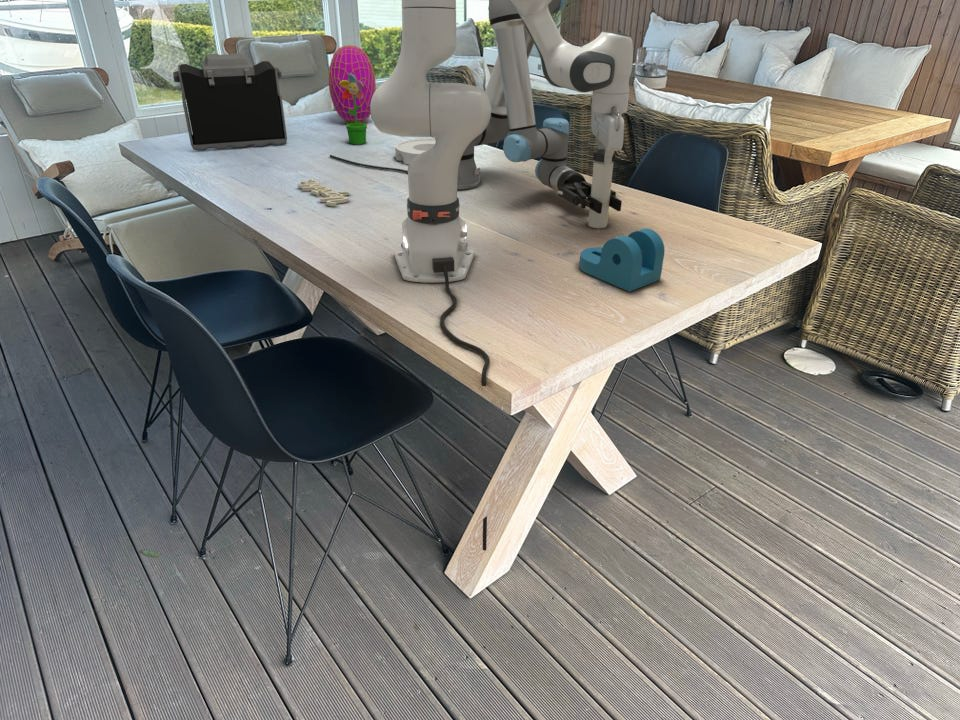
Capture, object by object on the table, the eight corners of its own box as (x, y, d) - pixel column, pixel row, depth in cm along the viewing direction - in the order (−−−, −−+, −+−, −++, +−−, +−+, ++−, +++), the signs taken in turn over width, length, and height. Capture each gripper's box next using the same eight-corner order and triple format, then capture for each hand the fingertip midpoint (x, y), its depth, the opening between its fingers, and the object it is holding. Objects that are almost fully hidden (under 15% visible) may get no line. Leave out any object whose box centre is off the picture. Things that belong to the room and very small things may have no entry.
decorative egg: (362, 116, 305) (357, 42, 290) (386, 123, 292) (382, 46, 277) (324, 121, 294) (316, 45, 279) (347, 129, 281) (340, 49, 266)
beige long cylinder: (607, 228, 182) (614, 157, 173) (588, 227, 183) (594, 156, 174) (606, 222, 187) (613, 152, 177) (588, 221, 187) (594, 152, 178)
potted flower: (342, 144, 260) (336, 73, 247) (351, 139, 266) (346, 70, 254) (365, 146, 257) (360, 74, 245) (374, 141, 264) (369, 71, 251)
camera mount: (660, 279, 153) (667, 234, 148) (629, 291, 148) (635, 245, 142) (600, 255, 165) (604, 213, 160) (569, 265, 160) (573, 222, 154)
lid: (589, 157, 178) (590, 150, 177) (608, 156, 179) (609, 148, 178) (598, 163, 173) (599, 155, 172) (618, 161, 174) (619, 153, 173)
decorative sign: (361, 197, 199) (330, 204, 194) (361, 201, 200) (330, 207, 195) (320, 177, 217) (291, 182, 212) (321, 180, 218) (291, 185, 213)
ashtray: (454, 167, 232) (454, 155, 230) (388, 164, 235) (387, 152, 233) (466, 151, 252) (466, 140, 250) (404, 148, 255) (404, 137, 253)
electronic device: (284, 132, 276) (273, 51, 260) (292, 144, 258) (281, 58, 243) (187, 139, 264) (169, 54, 249) (188, 152, 246) (169, 62, 231)
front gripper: (633, 111, 160) (626, 171, 167) (612, 96, 178) (607, 150, 185) (606, 111, 160) (600, 171, 167) (588, 96, 178) (584, 150, 185)
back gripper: (594, 192, 201) (638, 217, 182) (538, 199, 195) (578, 225, 176) (597, 167, 197) (642, 189, 178) (540, 172, 191) (580, 196, 172)
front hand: (604, 160), depth 176 cm, fingers closed on lid, 5 cm apart
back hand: (610, 207), depth 177 cm, fingers closed on beige long cylinder, 5 cm apart
